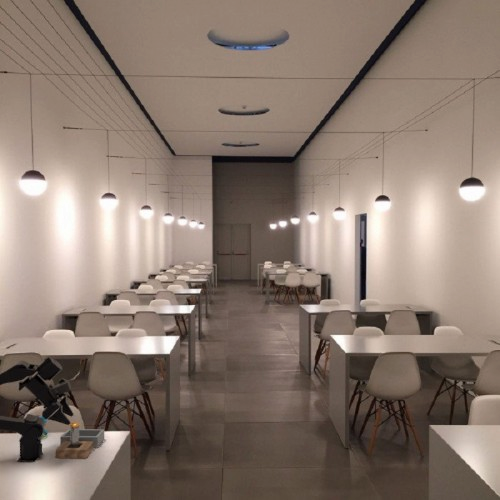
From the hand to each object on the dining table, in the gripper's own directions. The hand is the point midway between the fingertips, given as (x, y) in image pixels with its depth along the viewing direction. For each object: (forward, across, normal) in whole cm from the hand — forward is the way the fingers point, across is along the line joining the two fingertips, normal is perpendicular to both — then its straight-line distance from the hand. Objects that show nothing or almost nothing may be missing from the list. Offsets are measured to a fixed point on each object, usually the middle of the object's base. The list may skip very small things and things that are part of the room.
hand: (71, 419), depth 187 cm
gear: (-1, +22, +20) cm, 30 cm away
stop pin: (+10, 0, +8) cm, 13 cm away
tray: (+11, +10, +6) cm, 16 cm away
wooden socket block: (+10, 0, +8) cm, 13 cm away
